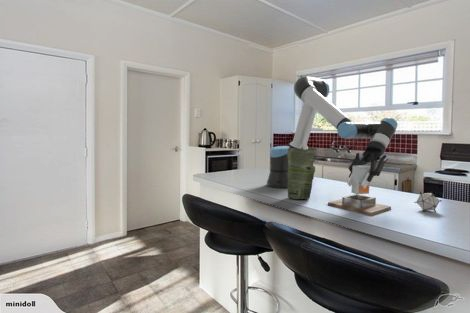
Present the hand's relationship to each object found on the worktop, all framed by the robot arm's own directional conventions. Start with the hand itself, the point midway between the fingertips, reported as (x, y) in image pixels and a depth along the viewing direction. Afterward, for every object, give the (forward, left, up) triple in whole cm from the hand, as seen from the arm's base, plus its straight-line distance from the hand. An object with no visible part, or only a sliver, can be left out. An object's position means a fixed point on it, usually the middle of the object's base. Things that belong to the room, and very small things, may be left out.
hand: (355, 185), depth 123 cm
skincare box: (0, +4, -4) cm, 6 cm away
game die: (+20, +22, -10) cm, 31 cm away
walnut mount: (0, +4, -10) cm, 11 cm away
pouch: (-26, -4, -10) cm, 29 cm away
